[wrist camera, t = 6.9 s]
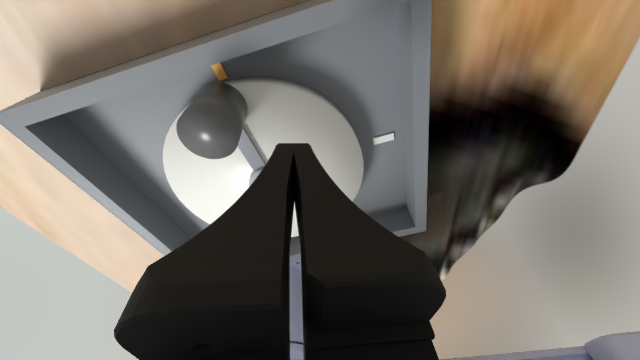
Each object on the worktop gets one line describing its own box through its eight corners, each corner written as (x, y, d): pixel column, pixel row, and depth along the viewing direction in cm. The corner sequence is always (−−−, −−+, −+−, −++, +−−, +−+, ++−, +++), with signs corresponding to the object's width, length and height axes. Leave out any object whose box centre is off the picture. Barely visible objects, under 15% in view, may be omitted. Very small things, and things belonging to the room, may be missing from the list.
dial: (374, 203, 24) (389, 245, 21) (236, 243, 26) (227, 287, 23) (328, 30, 14) (340, 51, 11) (113, 116, 17) (62, 157, 13)
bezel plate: (412, 204, 27) (426, 230, 24) (207, 254, 29) (198, 283, 26) (405, -33, 14) (432, -34, 11) (39, 91, 16) (-10, 115, 14)
